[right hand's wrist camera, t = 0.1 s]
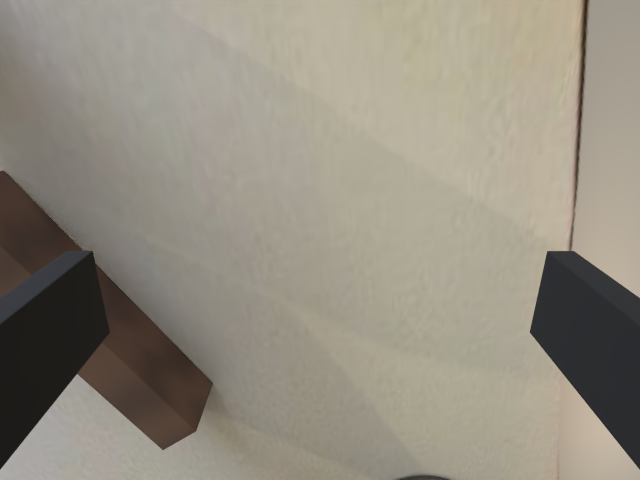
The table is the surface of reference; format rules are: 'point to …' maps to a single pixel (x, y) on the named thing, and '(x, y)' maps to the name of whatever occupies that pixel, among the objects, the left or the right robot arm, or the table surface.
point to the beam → (125, 331)
